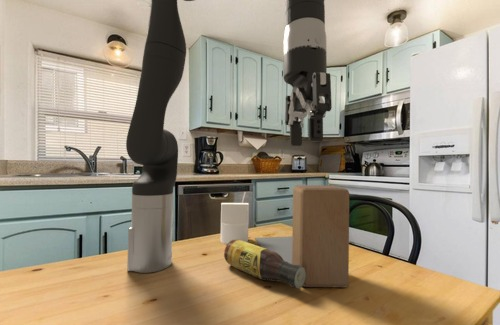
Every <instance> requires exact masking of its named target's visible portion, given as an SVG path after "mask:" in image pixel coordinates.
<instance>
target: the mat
mask: <svg viewBox="0 0 500 325" xmlns="http://www.w3.org/2000/svg"><path fill="white" fill-rule="evenodd" d="M292 237H293V235H291V236H269V237H268V236H267V237H266V236H265V237H264V236H263V237H254V240H255V241H256V242H257V244H258V246H260V247H263V248H266V249H269V250H270V251H273V252H276V253H278V254H279V255H280V256H281V257H282V259H283V260H284V261H286V262H288V263H290V264H292Z"/></svg>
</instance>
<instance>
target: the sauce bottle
mask: <svg viewBox="0 0 500 325" xmlns="http://www.w3.org/2000/svg"><path fill="white" fill-rule="evenodd" d="M223 257H224V259H225V260H224V261H225V262H226V263H227V264H228V265H230V266H232V268H236V269H238V270H240V271H242V272H244V273H247V274H249V275H250V276H251V275H252V277H255V278H257V279H260V280H262V281H271V282H284V283H285V284H288V285H290V287H292V288H295V289H301V288H302V287H304V286H303V284H304V282H305V278H306V272H305V269H304V267H302V266H299V265H293V264H290V263H288V262H286V261H284V260H283V259H282V257H281V256H280V255H279V254H278V253H276V252H273V251H270V250H269V249H266V248H263V247H260V246H259V245H255V244H253V243H250V242H249V241H248V242H244V241H241V240H232V241H230V242H229V243H228V244H226V246H225V249H224V252H223Z"/></svg>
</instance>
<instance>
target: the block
mask: <svg viewBox="0 0 500 325" xmlns="http://www.w3.org/2000/svg"><path fill="white" fill-rule="evenodd" d="M292 236H293V237H292V264H293V265H299V266H302V267H304V269H305V272H306V278H305V282H304V284H303V286H302V287H305V288H347V287H349V272H350V271H349V269H350V267H349V263H350V261H349V260H350V259H349V258H350V257H349V256H350V254H349V253H350V252H349V251H350V192H349V190H348V189H346V188H343V187H339V186H333V185H316V184H315V185H313V184H311V185H310V184H307V185H306V184H297V185H294V186H293V189H292Z"/></svg>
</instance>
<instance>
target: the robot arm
mask: <svg viewBox="0 0 500 325" xmlns="http://www.w3.org/2000/svg"><path fill="white" fill-rule="evenodd" d="M183 1H185V2H193V1H195V0H183ZM325 7H326V6H325V0H286V2H285V7H284V37H283V80H284V82H285V83H286V84H287V85H290V86H291V87H292V90H291V92H290V95H286V96H285V115H284V116H285V117H284V118H285V119H284V120H285V121H284V123H285V126H288V128H289V144H290V146H291V147H300V146H303V127H302V126H303V123H304V120H305V118H307V116H308V117H309V118H308V122H307V123H308V124H307V125H308V126H307V128H308V131H307V132H308V134H307V135H308V139H307V140H308V141H309V142H311V143H319V142H322V141H323V140H324V119H325V118H326V114H327V112H331V111H332V85H331V84H332V83H331V82H332V81H331V78H332V77H331V73H330V72H329V73H328V72H327V34H326V33H327V32H326V26H325V24H326V22H325V21H326V20H325V19H326V14H325V13H326V11H325V10H326V9H325ZM148 18H149V19H148V27H147V32H146V38H145V43H144V49H143V57H142V62H141V63H142V64H141V71H140V79H139V83H138V89H137V95H136V96H137V97H136V101H135V104H134V108H133V112H132V115H131V120H130V124H129V127H128V131H127V136H126V140H125V142H126V143H125V147H126V148H125V149H126V152H127V155H128V157H129V158H130V160H131V161H132V162H134V163H135V164H136V165H141V166H142V171H141V174H140V176H139V177H138V178H136V179H135V181H133V183H132V184H131V186H132V187H131V222H130V223H131V224H130V225H131V226H129V228H128V231H127V261H126V262H127V265H126V266H127V269H126V270H127V272H134V273H135V272H136V273H142V274H147V273H149V274H150V273H155V272H159V271H162V270H165V269H167V268H168V267H170V266H171V265H172V259H173V223H174V222H173V221H174V219H173V218H174V216H173V213H174V211H173V210H174V187H175V184H176V181H177V177H178V163H179V144H178V141H177V138H176V136H175V135H174V133H172V132H171V131H169V130H166V129H165V128H164V127H165V119H166V118H165V117H166V112H167V107H168V104H169V102H170V99H171V98H172V96H173V94H174V93H175V91H176V90H177V88H178V86H179V85H180V83H181V81H182V79H183V78H182V77H183V74H184V72H185V64H186V57H187V43H186V38H185V34H184V30H183V27H182V26H183V25H182V22H181V18H180V14H179V7H178V0H151V1H150V11H149V17H148ZM323 98H324V100H323Z"/></svg>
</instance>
